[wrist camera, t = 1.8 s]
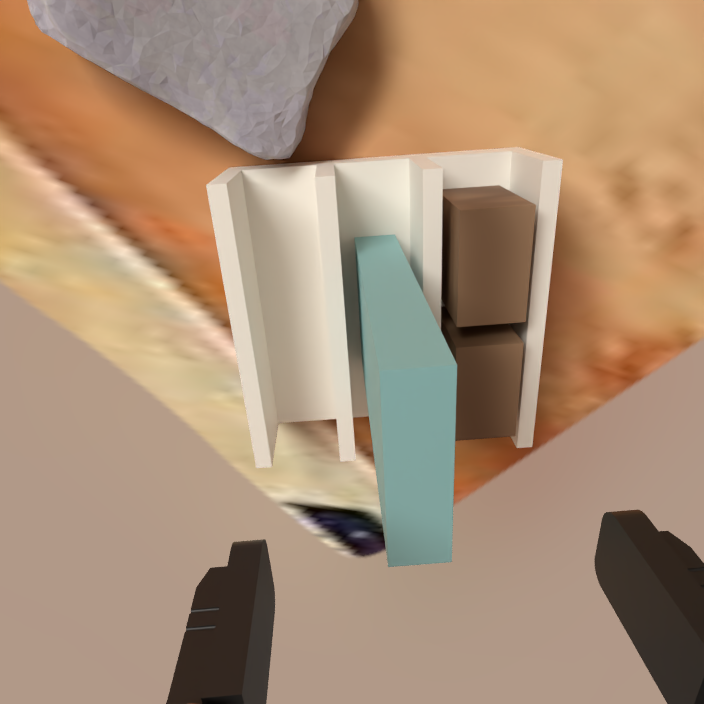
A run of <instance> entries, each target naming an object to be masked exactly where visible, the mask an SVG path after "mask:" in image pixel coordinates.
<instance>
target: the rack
mask: <svg viewBox="0 0 704 704" xmlns="http://www.w3.org/2000/svg"><path fill="white" fill-rule="evenodd" d="M562 164H563V159H559V158H556V157H552V156H549V155H545V154H542V153H538V152H534V151H531V150H527V149H524V148H520V147H511V148H497V149H483V150H468V151H454V152H440V153H426V154H412V155H398V156H384V157H370V158H356V159H342V160H328V161H314V162H299V163H285V164H271V165H257V166H243V167H229V168H228V169H227V170H225V171H224V172H223V173H221V174H220V175H219V176H217V177H216V178H215V179H213V180H212V181H211V182H209V183H208V184H207V185H206V187H207V193H208V198H209V204H210V210H211V215H212V221H213V227H214V232H215V238H216V243H217V249H218V255H219V260H220V266H221V272H222V277H223V283H224V289H225V294H226V300H227V305H228V311H229V317H230V322H231V328H232V334H233V339H234V345H235V351H236V356H237V362H238V367H239V373H240V379H241V384H242V390H243V396H244V401H245V407H246V412H247V418H248V424H249V429H250V435H251V441H252V446H253V452H254V458H255V463H256V468H264V467H272V464H273V457H274V450H275V443H276V437H277V430H278V423H288V422H301V421H314V420H327V419H336V420H337V431H338V443H339V454H340V462H343V461H356V457H355V443H354V429H353V418H354V417H367V416H369V413H368V405H367V397H366V390H365V382H364V374H363V366H362V353H361V337H360V320H359V304H358V288H357V271H356V255H355V238H354V237H366V236H380V235H394V234H395V236H396V238H397V240H398V242H399V244H400V246H401V248H402V250H403V253H404V255H405V257H406V259H407V261H408V263H409V265H410V267H411V269H412V271H413V273H414V276H415V278H416V280H417V282H418V284H419V286H420V288H421V290H422V292H423V294H424V296H425V299H426V301H427V303H428V305H429V307H430V309H431V311H432V313H433V315H434V317H435V320H436V322H437V324H438V326H439V328H440V330H441V307H442V306H445V305H444V303H443V301H442V299H441V279H442V199H443V189H453V188H467V187H481V186H495V185H500V186H501V187H503V188H505V189H507V190H509V191H511V192H513V193H515V194H516V195H518V196H520V197H522V198H524V199H526V200H528V201H529V202H531V203H533V204H535V205H536V210H535V222H534V233H533V244H532V256H531V267H530V278H529V289H528V301H527V312H526V322H520V323H509V325H510V326H511V327H512V329H513V330H514V331H515V332H516V334H517V335H518V336H519V337H520V339H521V340H522V341H523V343H524V346H523V357H522V368H521V379H520V391H519V402H518V413H517V425H516V436H511V438H512V440H513V442H514V444H515V446H516V448H525V447H532V445H533V436H534V426H535V417H536V407H537V398H538V389H539V379H540V370H541V361H542V351H543V342H544V333H545V323H546V314H547V304H548V295H549V286H550V276H551V267H552V258H553V248H554V239H555V230H556V220H557V211H558V202H559V192H560V183H561V173H562Z"/></svg>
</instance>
